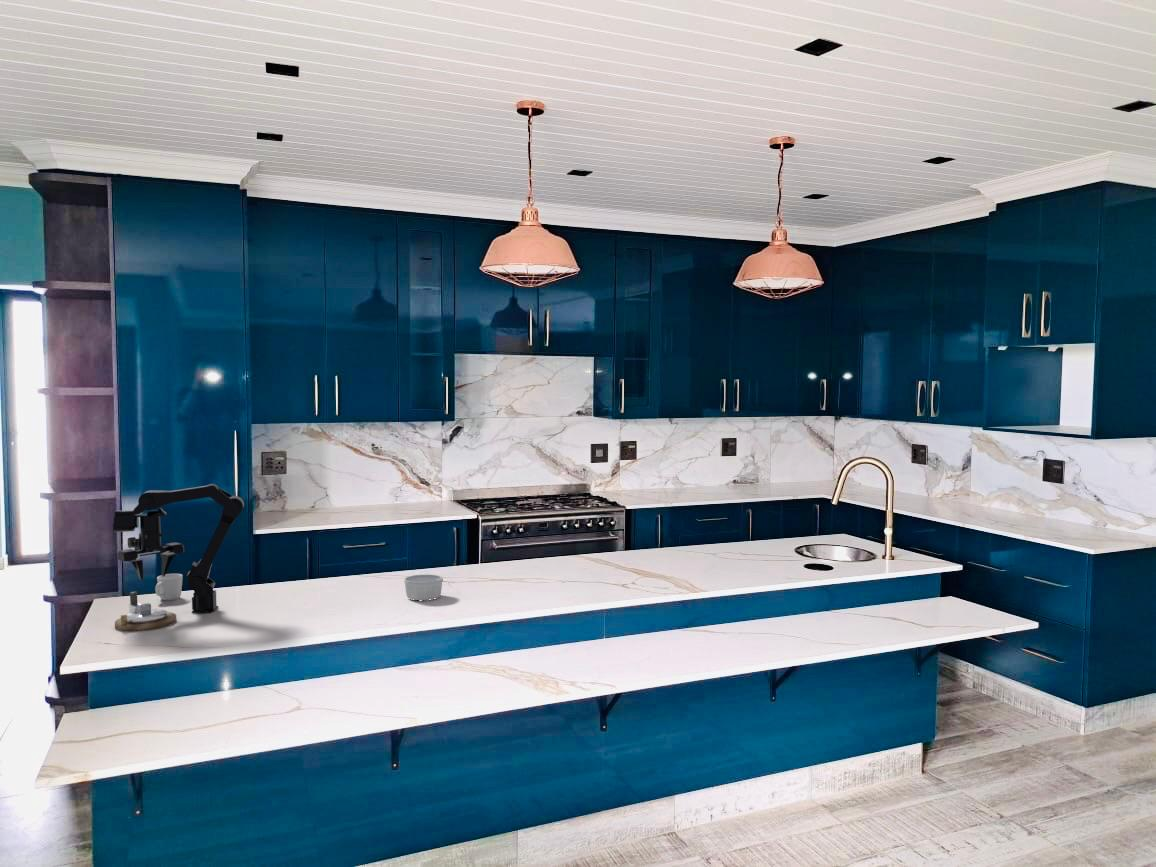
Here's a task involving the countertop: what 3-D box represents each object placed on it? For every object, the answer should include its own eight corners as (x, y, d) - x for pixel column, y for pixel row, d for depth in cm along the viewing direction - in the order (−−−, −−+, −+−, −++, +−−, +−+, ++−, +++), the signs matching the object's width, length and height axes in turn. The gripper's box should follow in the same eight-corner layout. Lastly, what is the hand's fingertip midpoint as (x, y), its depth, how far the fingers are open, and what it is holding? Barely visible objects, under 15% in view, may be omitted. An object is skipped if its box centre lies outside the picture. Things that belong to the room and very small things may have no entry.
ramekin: (437, 591, 301) (437, 572, 301) (447, 600, 289) (447, 580, 289) (400, 595, 295) (400, 576, 295) (409, 604, 283) (409, 584, 283)
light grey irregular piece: (174, 617, 262) (173, 595, 261) (133, 625, 252) (133, 603, 252) (152, 609, 272) (151, 588, 271) (112, 616, 262) (111, 595, 262)
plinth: (184, 615, 270) (184, 601, 270) (163, 630, 253) (163, 615, 253) (129, 616, 269) (129, 603, 268) (104, 632, 252) (104, 617, 251)
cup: (167, 604, 284) (166, 580, 284) (146, 603, 286) (145, 579, 285) (188, 596, 295) (187, 574, 294) (168, 595, 296) (167, 573, 296)
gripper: (168, 523, 282) (170, 569, 283) (109, 531, 267) (111, 579, 268) (184, 527, 275) (185, 574, 275) (123, 535, 260) (125, 585, 261)
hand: (152, 578), depth 270 cm, fingers open, 7 cm apart
